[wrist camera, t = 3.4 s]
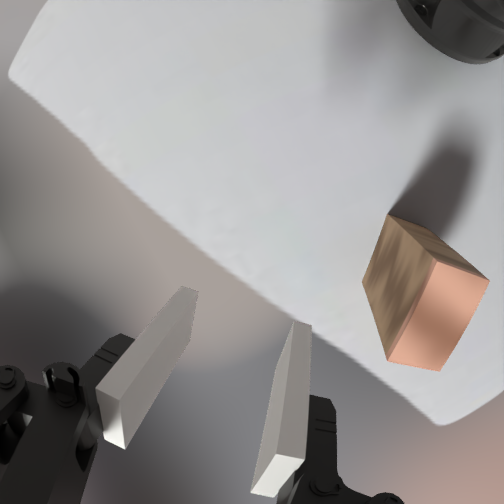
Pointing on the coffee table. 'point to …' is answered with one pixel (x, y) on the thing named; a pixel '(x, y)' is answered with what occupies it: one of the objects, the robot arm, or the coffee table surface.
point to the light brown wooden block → (420, 294)
